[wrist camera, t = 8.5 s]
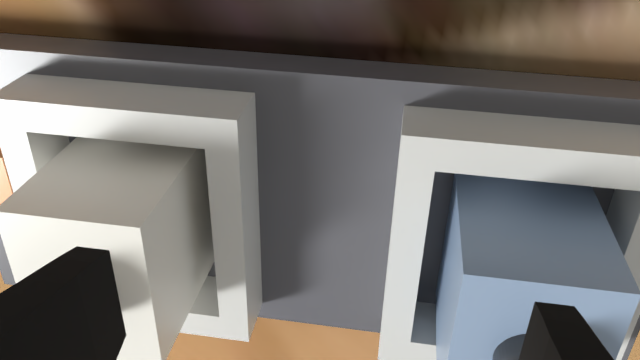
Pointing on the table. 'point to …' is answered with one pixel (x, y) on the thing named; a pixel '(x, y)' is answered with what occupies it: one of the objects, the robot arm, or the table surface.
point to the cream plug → (121, 229)
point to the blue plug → (526, 266)
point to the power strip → (324, 165)
